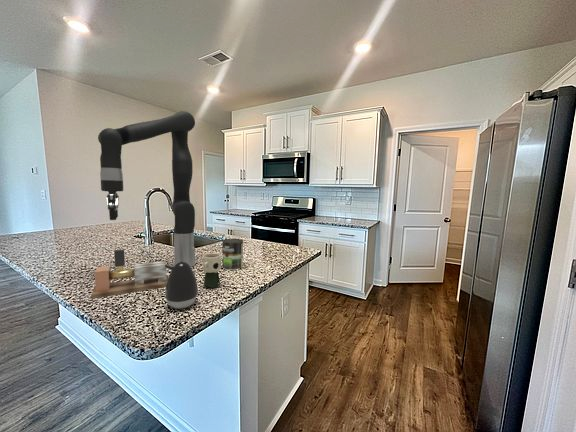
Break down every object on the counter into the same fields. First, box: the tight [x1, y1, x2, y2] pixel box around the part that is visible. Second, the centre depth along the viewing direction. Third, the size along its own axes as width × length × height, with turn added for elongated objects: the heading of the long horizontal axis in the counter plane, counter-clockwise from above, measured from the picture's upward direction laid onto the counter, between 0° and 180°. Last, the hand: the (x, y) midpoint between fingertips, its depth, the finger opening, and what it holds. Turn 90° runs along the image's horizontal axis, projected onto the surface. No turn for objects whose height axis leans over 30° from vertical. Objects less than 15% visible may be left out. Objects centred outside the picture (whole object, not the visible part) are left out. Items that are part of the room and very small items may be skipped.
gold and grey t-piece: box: [109, 248, 135, 281], centre depth 94 cm, size 13×3×11 cm, turn 121°
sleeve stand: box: [90, 260, 169, 300], centre depth 96 cm, size 25×10×8 cm, turn 121°
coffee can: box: [221, 238, 244, 271], centre depth 124 cm, size 10×10×14 cm
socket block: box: [94, 265, 112, 292], centre depth 92 cm, size 4×6×8 cm, turn 31°
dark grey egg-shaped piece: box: [164, 262, 199, 310], centre depth 83 cm, size 10×10×15 cm
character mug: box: [202, 252, 222, 289], centre depth 100 cm, size 11×7×13 cm, turn 166°
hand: (114, 218), depth 102 cm, fingers open, 8 cm apart
